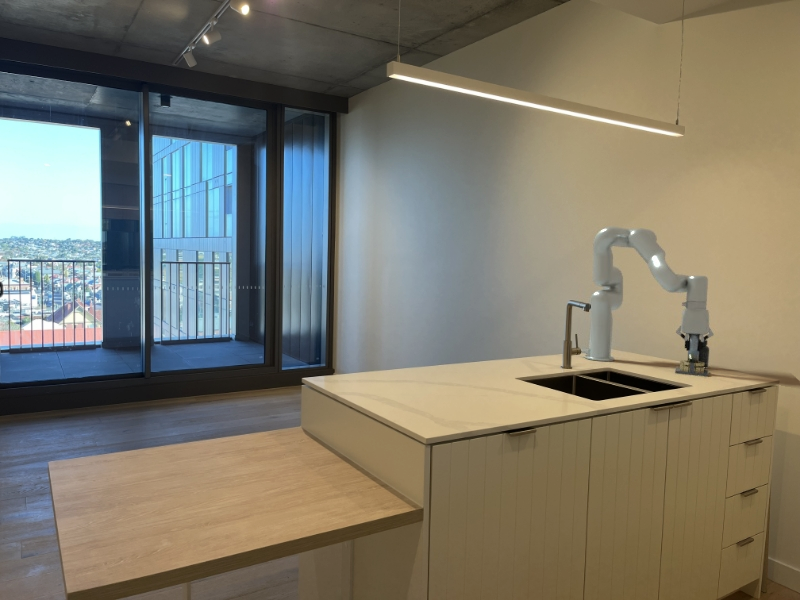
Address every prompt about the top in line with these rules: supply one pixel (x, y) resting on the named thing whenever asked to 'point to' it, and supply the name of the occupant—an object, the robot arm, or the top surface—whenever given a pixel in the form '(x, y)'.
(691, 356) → the steel tube
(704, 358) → the supplement bottle
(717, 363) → the top surface
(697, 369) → the firebox
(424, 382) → the top surface
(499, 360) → the top surface
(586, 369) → the top surface
